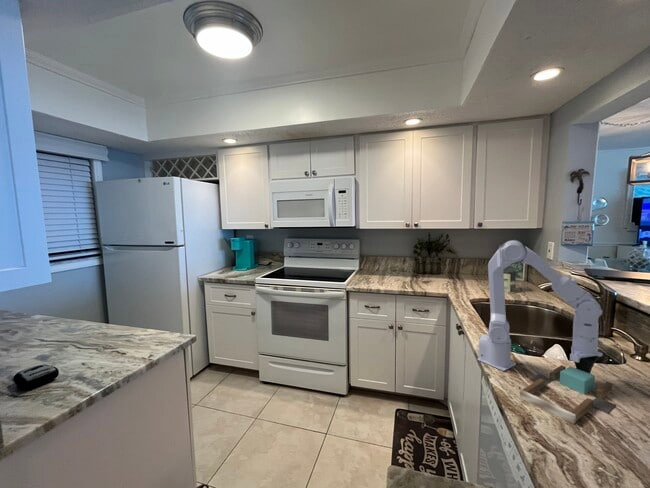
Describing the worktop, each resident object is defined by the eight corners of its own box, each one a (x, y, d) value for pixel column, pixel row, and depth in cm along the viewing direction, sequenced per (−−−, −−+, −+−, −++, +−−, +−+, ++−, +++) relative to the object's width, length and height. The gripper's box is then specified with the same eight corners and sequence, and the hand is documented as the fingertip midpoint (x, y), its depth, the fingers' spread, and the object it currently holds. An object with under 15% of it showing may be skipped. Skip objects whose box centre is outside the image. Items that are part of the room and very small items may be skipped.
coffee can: (511, 289, 192) (511, 269, 191) (518, 293, 182) (518, 272, 181) (494, 289, 194) (495, 269, 193) (500, 293, 184) (501, 272, 183)
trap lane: (509, 392, 84) (509, 385, 84) (550, 366, 97) (550, 361, 96) (589, 431, 68) (589, 424, 68) (626, 395, 81) (626, 388, 80)
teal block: (559, 383, 87) (560, 371, 87) (570, 378, 90) (570, 366, 89) (583, 394, 82) (584, 381, 81) (594, 388, 84) (594, 375, 84)
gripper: (592, 346, 80) (590, 391, 81) (611, 333, 87) (609, 375, 88) (562, 337, 86) (560, 379, 87) (582, 326, 93) (580, 365, 94)
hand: (583, 377), depth 88 cm, fingers closed
